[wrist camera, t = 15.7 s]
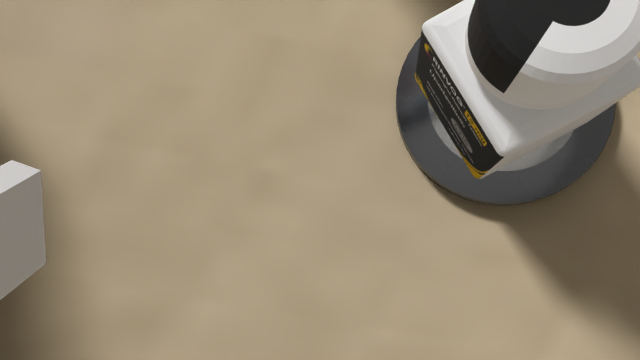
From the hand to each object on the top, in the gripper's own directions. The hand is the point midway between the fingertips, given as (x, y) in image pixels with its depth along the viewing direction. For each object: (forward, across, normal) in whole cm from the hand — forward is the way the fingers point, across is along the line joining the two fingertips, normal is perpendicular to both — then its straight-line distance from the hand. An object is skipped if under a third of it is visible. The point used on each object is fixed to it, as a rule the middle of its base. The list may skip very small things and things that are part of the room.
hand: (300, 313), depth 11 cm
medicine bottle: (+22, +5, 0) cm, 22 cm away
